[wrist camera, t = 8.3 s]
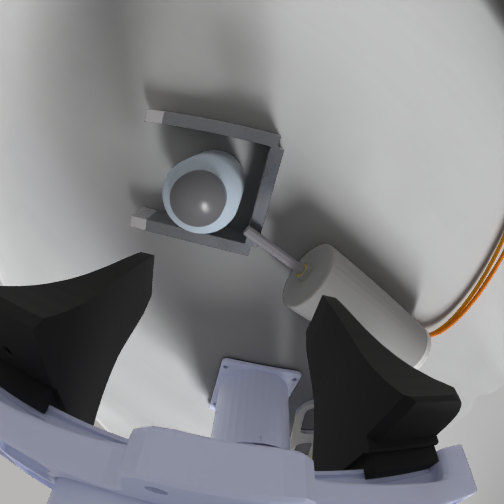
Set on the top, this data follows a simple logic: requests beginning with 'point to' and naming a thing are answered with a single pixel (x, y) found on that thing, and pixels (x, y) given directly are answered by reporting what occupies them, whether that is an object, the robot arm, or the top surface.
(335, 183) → the top surface
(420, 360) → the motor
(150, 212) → the clip cradle
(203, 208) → the light grey cylinder
